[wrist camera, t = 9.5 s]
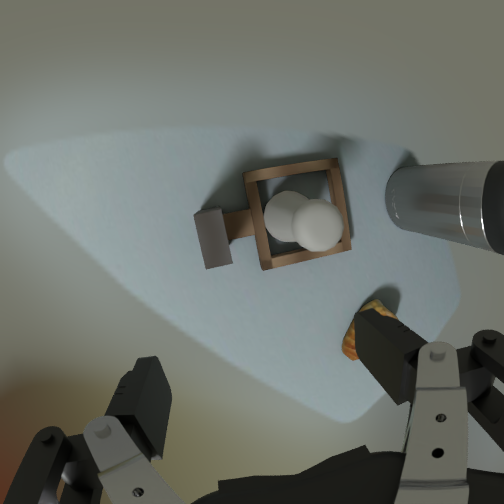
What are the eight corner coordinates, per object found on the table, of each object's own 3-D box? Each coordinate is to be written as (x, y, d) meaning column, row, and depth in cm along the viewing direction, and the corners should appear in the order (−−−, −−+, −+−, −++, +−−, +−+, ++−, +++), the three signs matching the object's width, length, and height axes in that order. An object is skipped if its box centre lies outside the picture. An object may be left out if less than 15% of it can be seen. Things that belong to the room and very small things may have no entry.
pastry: (358, 361, 40) (368, 373, 37) (329, 344, 39) (338, 357, 35) (395, 313, 40) (408, 322, 36) (368, 291, 38) (382, 300, 34)
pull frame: (332, 159, 33) (363, 150, 26) (346, 247, 36) (378, 260, 28) (193, 183, 32) (186, 179, 24) (214, 277, 34) (214, 301, 27)
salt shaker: (267, 185, 33) (298, 179, 21) (312, 197, 34) (363, 200, 22) (255, 233, 34) (279, 255, 22) (300, 243, 35) (344, 270, 23)
